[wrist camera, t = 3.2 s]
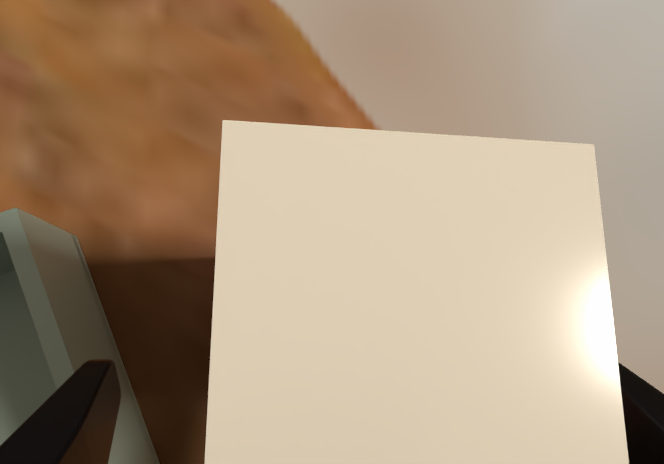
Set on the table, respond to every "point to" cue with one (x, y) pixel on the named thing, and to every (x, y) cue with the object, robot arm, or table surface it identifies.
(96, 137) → the table surface
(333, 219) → the tile stack
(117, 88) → the table surface
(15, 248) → the box
